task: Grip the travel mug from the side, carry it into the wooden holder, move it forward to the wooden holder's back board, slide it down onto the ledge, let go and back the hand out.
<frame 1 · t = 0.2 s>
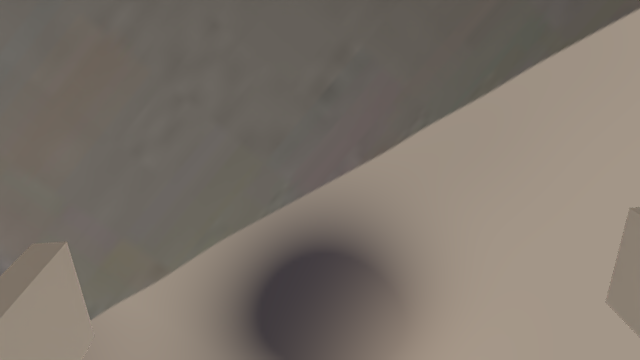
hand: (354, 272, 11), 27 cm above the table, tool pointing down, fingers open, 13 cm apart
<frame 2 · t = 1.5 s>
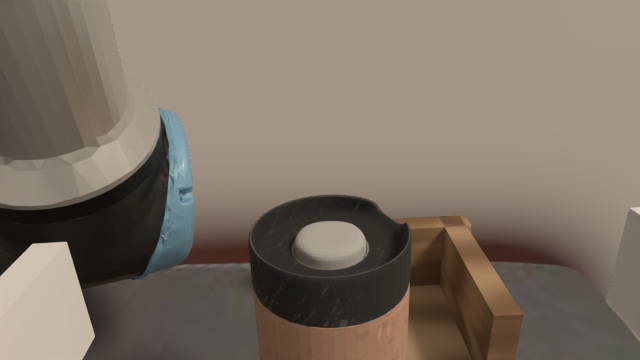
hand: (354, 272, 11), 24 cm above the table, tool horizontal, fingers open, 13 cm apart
wooden holder: (385, 345, 41), on the table
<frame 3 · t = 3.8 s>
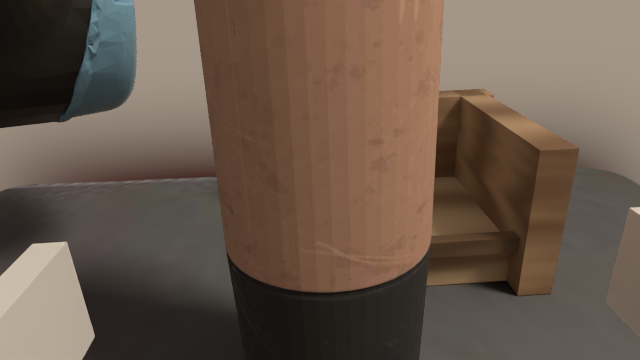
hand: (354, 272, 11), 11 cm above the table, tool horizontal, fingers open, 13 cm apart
wooden holder: (391, 240, 33), on the table
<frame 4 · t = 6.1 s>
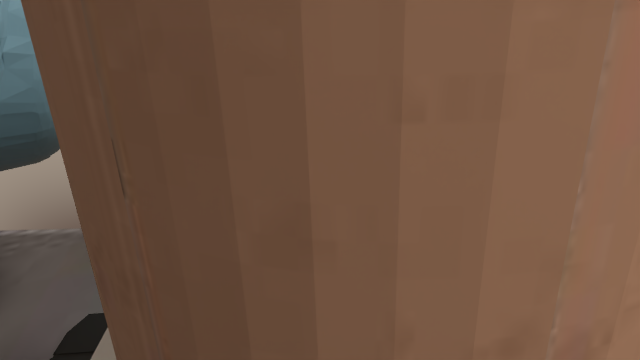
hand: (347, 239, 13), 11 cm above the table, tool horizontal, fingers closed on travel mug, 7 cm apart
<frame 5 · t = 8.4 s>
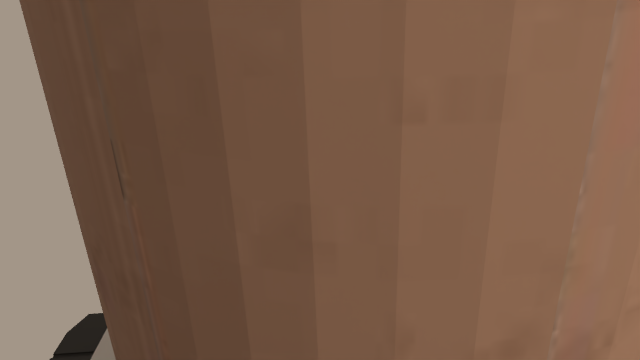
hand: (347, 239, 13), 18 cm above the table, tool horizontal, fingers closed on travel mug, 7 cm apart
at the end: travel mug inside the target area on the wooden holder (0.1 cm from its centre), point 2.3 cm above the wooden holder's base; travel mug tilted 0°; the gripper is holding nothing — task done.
